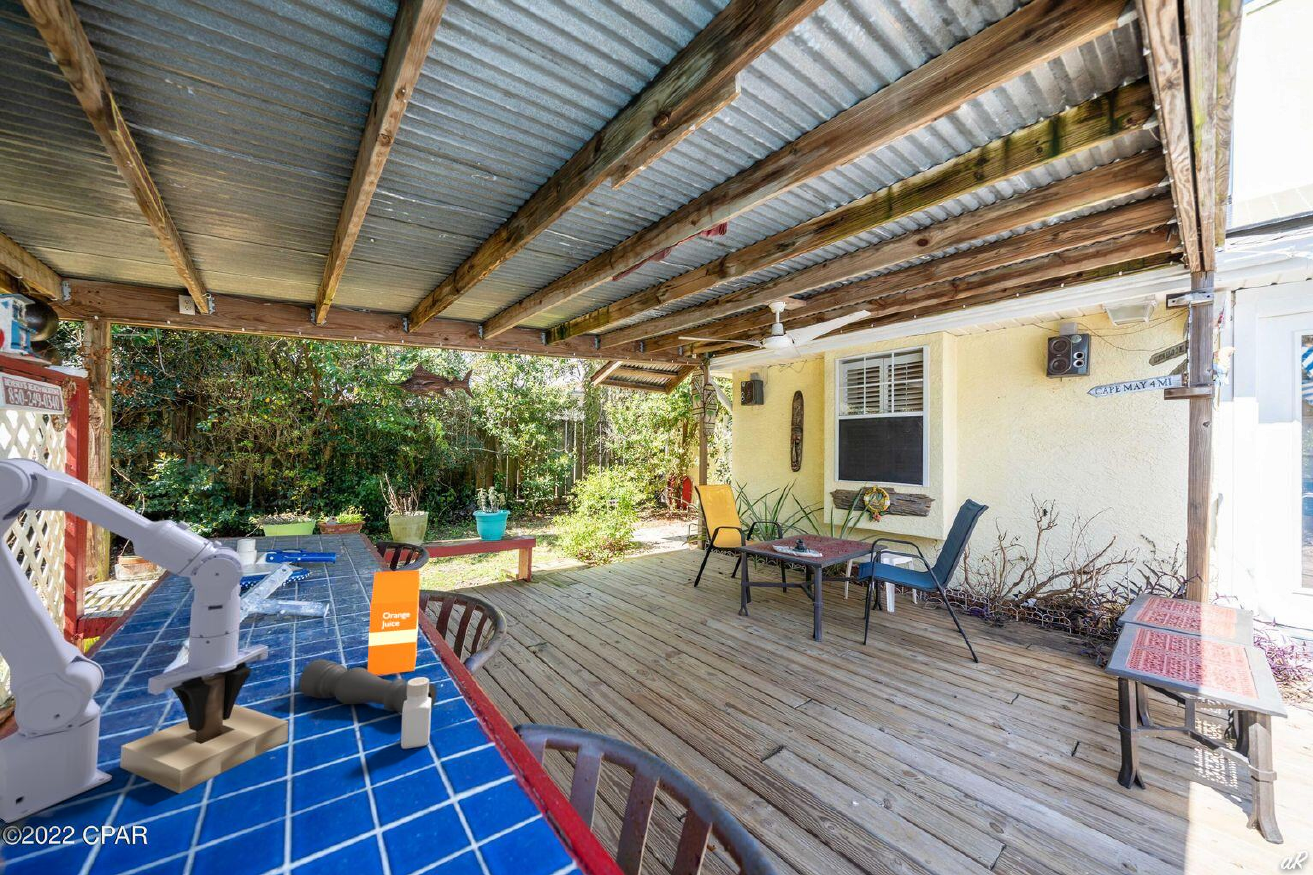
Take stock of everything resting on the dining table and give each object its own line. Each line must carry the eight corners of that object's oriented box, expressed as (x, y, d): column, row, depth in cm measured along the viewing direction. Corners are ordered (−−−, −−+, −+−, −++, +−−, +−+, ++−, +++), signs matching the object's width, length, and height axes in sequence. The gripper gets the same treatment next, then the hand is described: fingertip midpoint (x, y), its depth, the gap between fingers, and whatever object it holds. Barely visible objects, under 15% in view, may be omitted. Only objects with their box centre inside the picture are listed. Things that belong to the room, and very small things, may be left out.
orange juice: (414, 670, 110) (419, 574, 110) (366, 676, 107) (371, 576, 107) (416, 656, 117) (420, 566, 118) (371, 661, 114) (376, 568, 114)
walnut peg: (203, 750, 77) (207, 684, 77) (190, 745, 78) (194, 680, 78) (226, 740, 79) (229, 676, 80) (214, 735, 81) (217, 672, 81)
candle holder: (303, 661, 96) (416, 685, 89) (331, 656, 102) (440, 678, 95) (294, 698, 95) (409, 725, 88) (324, 691, 100) (434, 715, 93)
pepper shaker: (402, 737, 85) (405, 677, 85) (429, 733, 86) (432, 674, 86) (400, 750, 81) (403, 688, 81) (428, 746, 82) (431, 684, 82)
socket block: (179, 793, 69) (180, 770, 70) (120, 767, 75) (121, 745, 75) (287, 740, 82) (288, 721, 83) (230, 721, 88) (231, 703, 88)
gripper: (171, 652, 71) (165, 754, 70) (282, 621, 84) (277, 707, 84) (141, 643, 73) (135, 742, 73) (253, 615, 87) (249, 698, 87)
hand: (209, 723), depth 79 cm, fingers closed on walnut peg, 3 cm apart
